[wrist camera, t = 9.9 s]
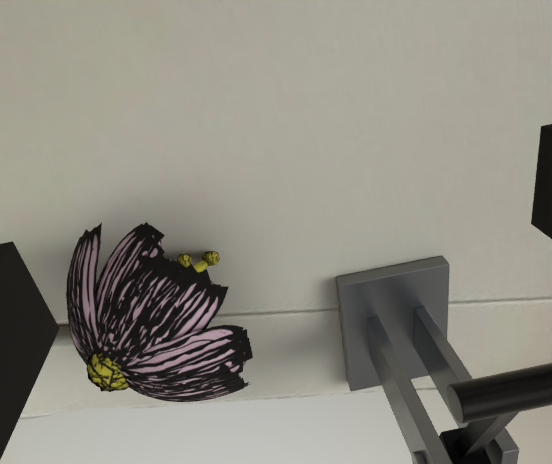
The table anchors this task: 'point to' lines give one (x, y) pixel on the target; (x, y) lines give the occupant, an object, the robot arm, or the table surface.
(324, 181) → the table surface
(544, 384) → the lever
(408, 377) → the bracket
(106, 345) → the decorative flower
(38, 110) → the table surface
